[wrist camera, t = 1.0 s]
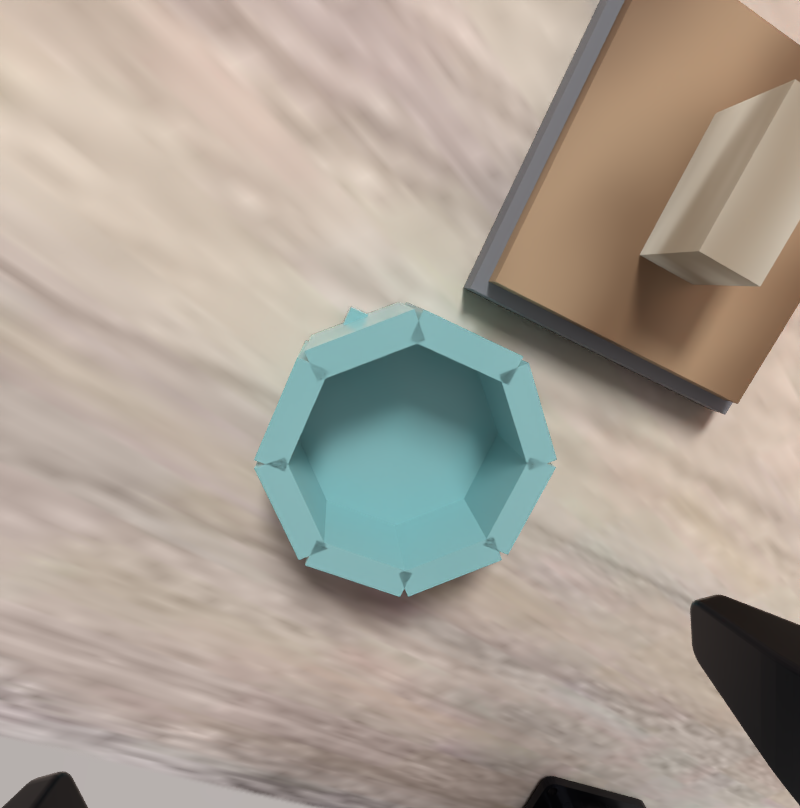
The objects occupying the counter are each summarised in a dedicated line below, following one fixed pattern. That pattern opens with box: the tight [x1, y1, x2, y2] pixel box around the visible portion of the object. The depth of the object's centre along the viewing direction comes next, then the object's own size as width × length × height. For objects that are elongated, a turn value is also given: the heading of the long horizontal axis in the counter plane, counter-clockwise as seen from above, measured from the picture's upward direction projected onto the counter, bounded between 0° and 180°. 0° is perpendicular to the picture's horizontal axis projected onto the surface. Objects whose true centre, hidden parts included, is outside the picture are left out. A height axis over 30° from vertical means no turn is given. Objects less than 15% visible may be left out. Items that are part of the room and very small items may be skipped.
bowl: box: [254, 302, 557, 597], centre depth 18 cm, size 9×9×4 cm
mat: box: [464, 0, 732, 414], centre depth 18 cm, size 12×12×1 cm
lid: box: [489, 0, 800, 404], centre depth 16 cm, size 11×11×4 cm
